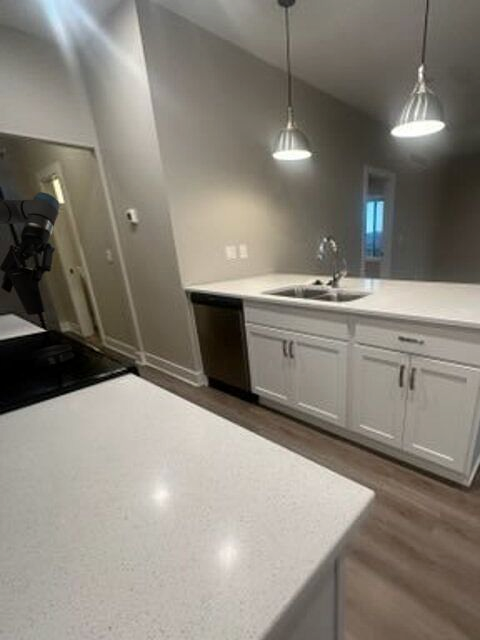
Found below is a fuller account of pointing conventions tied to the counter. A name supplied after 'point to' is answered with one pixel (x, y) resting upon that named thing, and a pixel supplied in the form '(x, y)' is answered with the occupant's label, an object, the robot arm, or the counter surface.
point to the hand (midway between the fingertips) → (18, 289)
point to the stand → (52, 356)
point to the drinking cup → (26, 289)
